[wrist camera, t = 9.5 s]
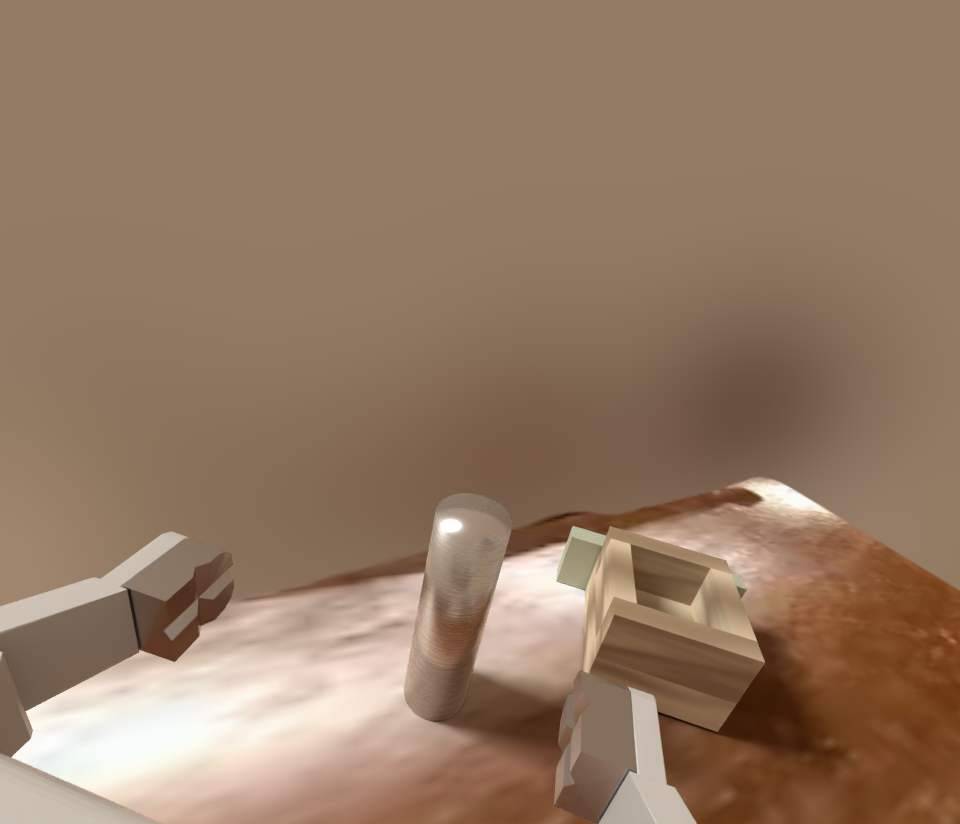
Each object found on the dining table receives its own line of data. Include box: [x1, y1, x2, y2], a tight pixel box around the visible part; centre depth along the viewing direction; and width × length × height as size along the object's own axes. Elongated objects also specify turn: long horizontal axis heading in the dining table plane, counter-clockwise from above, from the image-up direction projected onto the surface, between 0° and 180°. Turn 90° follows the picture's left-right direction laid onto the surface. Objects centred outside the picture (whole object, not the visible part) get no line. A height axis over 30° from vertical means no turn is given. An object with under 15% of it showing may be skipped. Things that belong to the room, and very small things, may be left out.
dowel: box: [404, 493, 512, 721], centre depth 27 cm, size 4×4×14 cm
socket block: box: [583, 526, 765, 732], centre depth 33 cm, size 9×9×7 cm
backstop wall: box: [557, 526, 747, 598], centre depth 39 cm, size 2×14×5 cm, turn 77°
